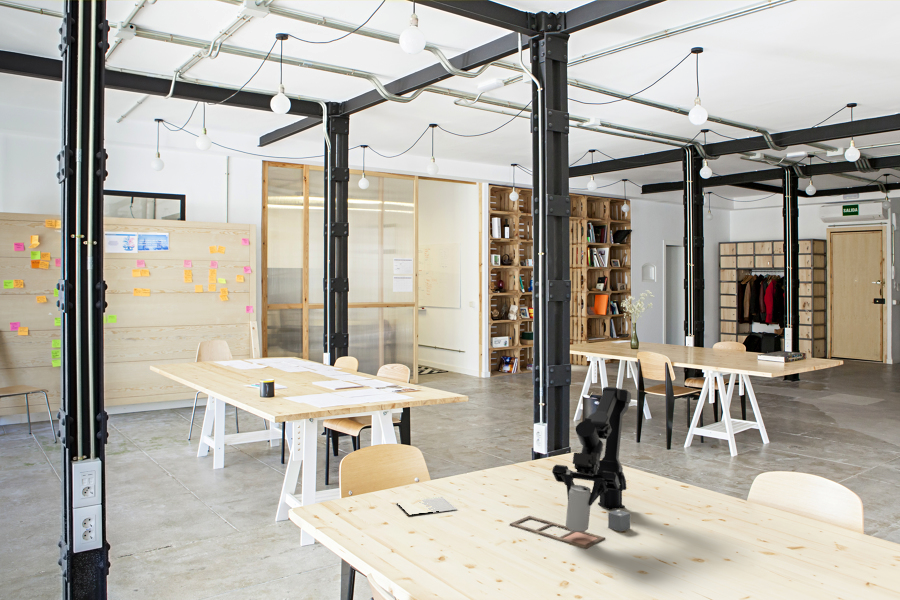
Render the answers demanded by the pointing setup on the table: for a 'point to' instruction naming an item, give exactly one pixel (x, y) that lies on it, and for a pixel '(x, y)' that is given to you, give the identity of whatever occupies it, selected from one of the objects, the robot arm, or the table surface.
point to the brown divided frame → (572, 538)
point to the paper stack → (438, 504)
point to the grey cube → (619, 520)
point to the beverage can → (578, 508)
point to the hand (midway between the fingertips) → (579, 503)
